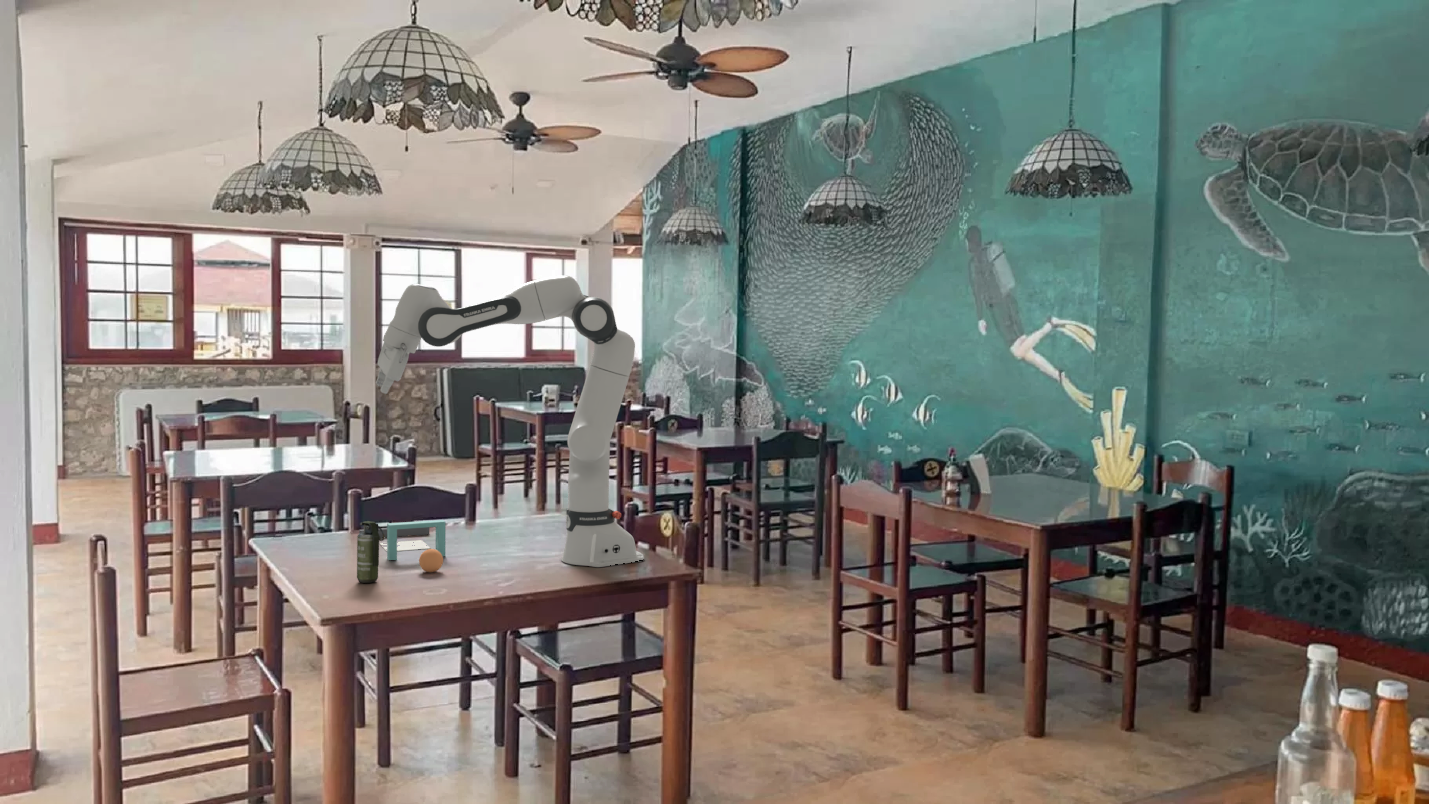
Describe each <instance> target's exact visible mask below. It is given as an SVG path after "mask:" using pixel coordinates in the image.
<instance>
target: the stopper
mask: <svg viewBox="0 0 1429 804" xmlns="http://www.w3.org/2000/svg"><path fill="white" fill-rule="evenodd" d="M380 528H381V527H380ZM381 529H382V530H383V532H384V537H387V527H382V528H381ZM358 531H359V532H358V534H359V533H361V532H364V528H363V529H358ZM378 533H379V535H380V539H383V538H382V537H383V534H382V532H381V530H380V529H379V531H378ZM427 534H429V535H430V527H424V528H409V529H397V536H402V537H409V536H408V535H417V536H426V535H427ZM427 536H428V535H427Z"/></svg>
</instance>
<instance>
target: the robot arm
mask: <svg viewBox="0 0 1429 804" xmlns="http://www.w3.org/2000/svg"><path fill="white" fill-rule="evenodd" d="M561 317H562V318H563V317H564V318H565V317H566V318H568V319H570V320H571V321H572V323H573V325H574V328H575V329H576V331H577V332H578V333H579V334H580V335H581V336H583V337H585V338H587V339H588V340H590V341H592V343H593V345H594V346H593V347H594V348H593V349H594V350H593V354H592V358H591V361H590V364H589V368H588V371H587V374H586V377H585V380H584V384H583V387H582V390H581V394H580V397H579V400H578V403H577V407H576V408H575V413H574V416H573V419H572V423H571V426H570V428H569V432H568V435H567V441H566V443H567V447H568V450H569V459H568V460H569V461H568V464H569V465H568V479H567V483H568V485H567V494H568V495H567V508H566V510H565V511H566V513H565V528H566V535H565V536H566V537H565V543H564V548H563V551H562V556H561V561H562V562H563V563H566V564H568V565H574V566H575V565H576V566H586V567H587V566H589V567H593V568H604V567H610V565H611V566H615V564H618V565H624V564H623V563H625V564H630V563H631V562H632V563H636V562H635V561H638V562H640V561H639V560H643V559H644V560H645V557H644V554H643V553H642V552H640V551H638V550H637V547H636V542H635V539H634V537H633V535H632V534H631V533H629V532H628V531H627V530H626V529H625V528H623V527H622V526H621V525H620V524H618V523H617V522H616V521H615V519H616V520H620V518H622V513H621V512H620V511H618V510H613V509H611V508H609V507H610V505H609V504H610V503H609V502H610V501H609V500H610V494H609V493H610V457H611V456H610V453H611V451H610V449H611V447H610V446H611V439H612V437H613V436H612V435H613V432H614V428H615V425H616V422H617V419H618V415H619V413H620V408H621V405H622V402H623V399H624V395H625V392H626V388H627V385H628V382H629V378H630V375H631V372H632V367H633V365H634V364H633V363H634V357H635V351H636V341H635V339H634V338H633V337H632V336H631V335H630V334H629V333H627V332H625V331H623V330H620V329H619V328H618V327H617V322H616V317H615V313H614V310H613V308H612V306H611V305H610V303H609V302H608V301H607V300H605V299H603V298H601V297H598V296H587V295H585V294H583V292H582V291H581V287H580V285H579V283H578V281H577V280H576V279H575V278H573V276H570V275H556V276H548V277H543V278H538V279H534V280H530V281H528V282H525V283H521V284H519V285H517V286H514V287H513V288H511V289H509V290H507V291H506V292H503V293H502V294H501V295H498V296H495V297H494V298H492V299H490V300H486V301H484V302H479V303H476V304H472V305H468V306H465V307H460V308H452V307H451V306H450V305H449V304H448V303H447V301H445V300H444V298H442V296H441V295H440V293H439V291H438V289H436V288H435V287H432V286H429V285H425V284H420V283H419V284H418V283H413V284H409V285H408V286H407V287H406V288H405V289H404V291H403V293H402V294H401V296H400V298H399V300H398V303H397V306H396V308H395V313H394V316H393V319H392V320H391V321H390V322H389V324H388V327H387V329H386V331H385V333H384V336H383V338H382V342H383V344H382V347H381V349H380V353H379V356H378V358H377V366H378V367H379V371H378V375H377V379H376V381H375V384H376V386H377V387H380V389H379V391H380V392H381V393H382V394H386V395H387V394H388V392H389V390H390V388H391V387H392V385H393V384H394V382H399V381H400V380H401V378H402V376H403V375H404V371H405V368H406V366H407V364H408V361H409V357H410V356H409V355H410V353H411V354H415V353H416V352H417V349H418V347H419V344H420V342H421V340H423V341H424V342H425V343H426V344H428V345H430V346H432V347H441V348H442V347H444V346H447V345H450V344H453V343H455V342H457V341H458V340H459V339H460V338H462V336H463V335H464V334H465V333H468V332H471V331H476V330H479V329H484V328H487V327H490V326H494V325H502V324H503V325H504V324H507V325H527V324H535V323H541V322H544V321H548V320H552V319H555V318H561ZM644 560H643V561H644Z"/></svg>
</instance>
